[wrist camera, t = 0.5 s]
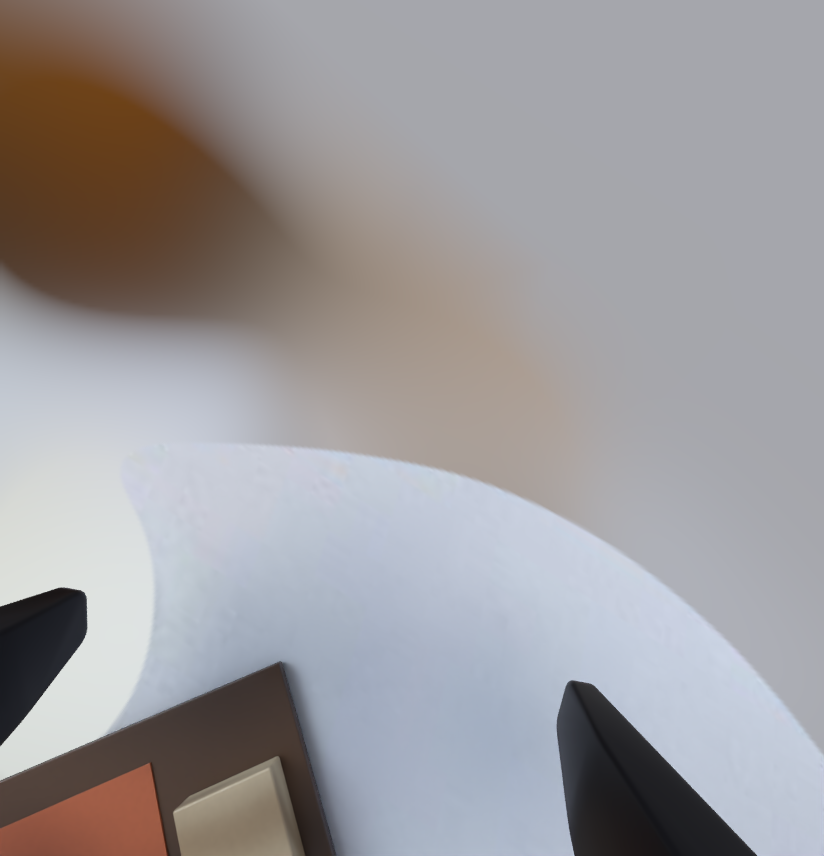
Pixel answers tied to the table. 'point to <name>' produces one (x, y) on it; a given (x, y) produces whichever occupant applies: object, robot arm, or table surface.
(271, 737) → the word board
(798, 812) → the table surface
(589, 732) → the robot arm
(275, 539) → the table surface
